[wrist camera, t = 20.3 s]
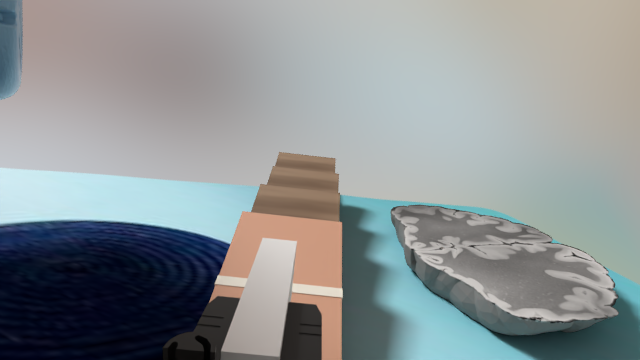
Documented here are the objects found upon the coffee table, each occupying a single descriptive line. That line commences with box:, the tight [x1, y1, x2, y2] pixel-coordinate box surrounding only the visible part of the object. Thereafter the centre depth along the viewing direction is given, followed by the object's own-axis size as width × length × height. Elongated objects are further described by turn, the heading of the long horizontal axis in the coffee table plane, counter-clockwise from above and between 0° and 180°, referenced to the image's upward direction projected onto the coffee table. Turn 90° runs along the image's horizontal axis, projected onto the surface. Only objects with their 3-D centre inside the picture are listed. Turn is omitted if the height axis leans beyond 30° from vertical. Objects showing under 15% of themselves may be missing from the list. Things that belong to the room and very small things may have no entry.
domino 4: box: [209, 211, 343, 360], centre depth 20 cm, size 2×7×12 cm
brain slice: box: [391, 205, 619, 335], centre depth 32 cm, size 20×17×3 cm
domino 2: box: [267, 166, 339, 193], centre depth 33 cm, size 2×7×12 cm
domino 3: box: [251, 184, 340, 222], centre depth 26 cm, size 2×7×12 cm
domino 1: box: [275, 152, 335, 173], centre depth 39 cm, size 2×7×12 cm
